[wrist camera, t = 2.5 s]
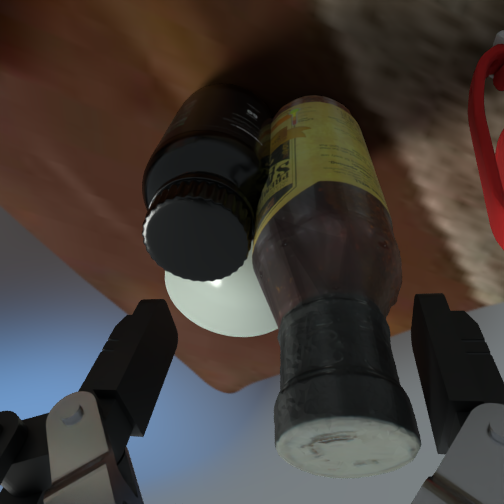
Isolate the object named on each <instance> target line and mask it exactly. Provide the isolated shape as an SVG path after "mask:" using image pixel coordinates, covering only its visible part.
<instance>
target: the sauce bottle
mask: <svg viewBox="0 0 504 504" xmlns="http://www.w3.org/2000/svg"><path fill="white" fill-rule="evenodd" d="M252 265H253V270H254V272H255V275H256V277H257V280H258V282H259V284H260V287H261V289H262V291H263V294H264V296H265V298H266V301H267V303H268V305H269V307H270V310H271V312H272V315H273V317H274V319H275V322H276V324H277V326H278V329H279V333H278V341H279V344H280V349H281V354H280V356H281V357H280V359H281V367H280V376H281V381H280V389H281V390H280V392H279V395H278V397H277V400H276V403H275V406H274V423H275V447H276V450H277V452H278V454H279V456H280V457H281V458H282V459H284V460H285V461H286V462H287V463H289V464H290V465H292V466H294V467H296V468H298V469H300V470H302V471H305V472H308V473H312V474H314V475H317V476H324V477H330V478H360V477H369V476H374V475H379V474H383V473H388V472H392V471H395V470H397V469H400V468H402V467H403V466H405V465H407V464H408V463H410V462H411V461H413V460H414V458H415V456H416V455H417V453H418V451H419V449H420V447H421V440H420V434H419V431H418V428H417V422H416V419H415V415H414V412H413V408H412V405H411V403H410V399H409V397H408V396H407V394H406V392H405V391H404V389H403V388H402V387H401V385H400V382H399V377H398V375H397V370H396V365H395V362H394V358H393V354H392V350H391V344H390V329H389V326H388V324H387V321H386V316H387V315H388V313H389V311H390V308H391V306H393V305H394V304H395V303H396V302H397V297H398V294H399V290H400V288H401V284H402V270H401V257H400V251H399V249H398V246H397V243H396V240H395V237H394V234H393V226H392V220H391V217H390V214H389V211H388V208H387V205H386V202H385V199H384V196H383V193H382V190H381V187H380V184H379V182H378V179H377V176H376V173H375V170H374V167H373V164H372V161H371V158H370V155H369V152H368V149H367V146H366V143H365V140H364V138H363V135H362V132H361V129H360V127H359V125H358V123H357V122H356V120H355V119H354V118H353V117H352V115H351V113H350V111H349V110H348V109H347V108H346V107H345V106H344V105H343V104H341V103H339V102H337V101H335V100H333V99H330V98H328V97H325V96H317V95H308V96H303V97H301V98H297V99H295V100H293V101H291V102H289V103H288V104H286V105H285V106H283V107H282V108H281V109H280V110H279V111H278V112H277V114H276V115H275V117H274V118H273V122H272V124H271V144H270V170H269V175H268V179H267V181H266V184H265V186H264V188H263V190H262V192H261V197H260V199H259V202H258V205H257V210H256V220H255V231H254V239H253V253H252Z"/></svg>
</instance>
